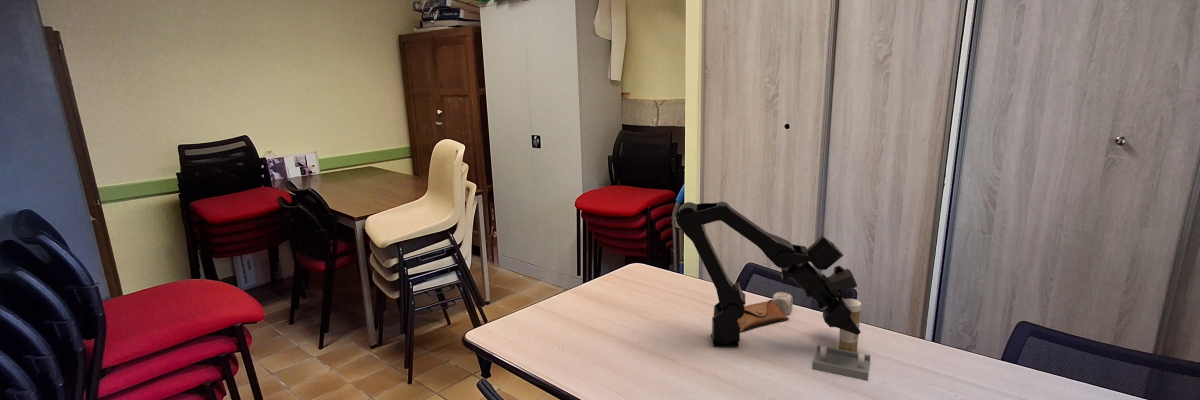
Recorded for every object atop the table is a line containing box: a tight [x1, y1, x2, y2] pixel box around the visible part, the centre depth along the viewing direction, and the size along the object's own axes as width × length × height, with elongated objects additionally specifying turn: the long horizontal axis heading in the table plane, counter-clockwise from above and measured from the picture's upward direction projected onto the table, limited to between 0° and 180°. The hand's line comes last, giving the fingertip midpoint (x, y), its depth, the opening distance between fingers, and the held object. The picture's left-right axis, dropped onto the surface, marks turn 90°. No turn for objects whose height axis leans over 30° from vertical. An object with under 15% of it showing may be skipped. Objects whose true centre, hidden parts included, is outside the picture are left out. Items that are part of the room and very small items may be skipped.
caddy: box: [811, 344, 871, 381], centre depth 135 cm, size 12×9×4 cm
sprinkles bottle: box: [837, 298, 862, 353], centre depth 141 cm, size 5×5×14 cm
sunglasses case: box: [737, 299, 790, 333], centre depth 161 cm, size 18×7×7 cm, turn 115°
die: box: [771, 291, 794, 316], centre depth 166 cm, size 5×5×5 cm
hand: (855, 325), depth 140 cm, fingers open, 9 cm apart
